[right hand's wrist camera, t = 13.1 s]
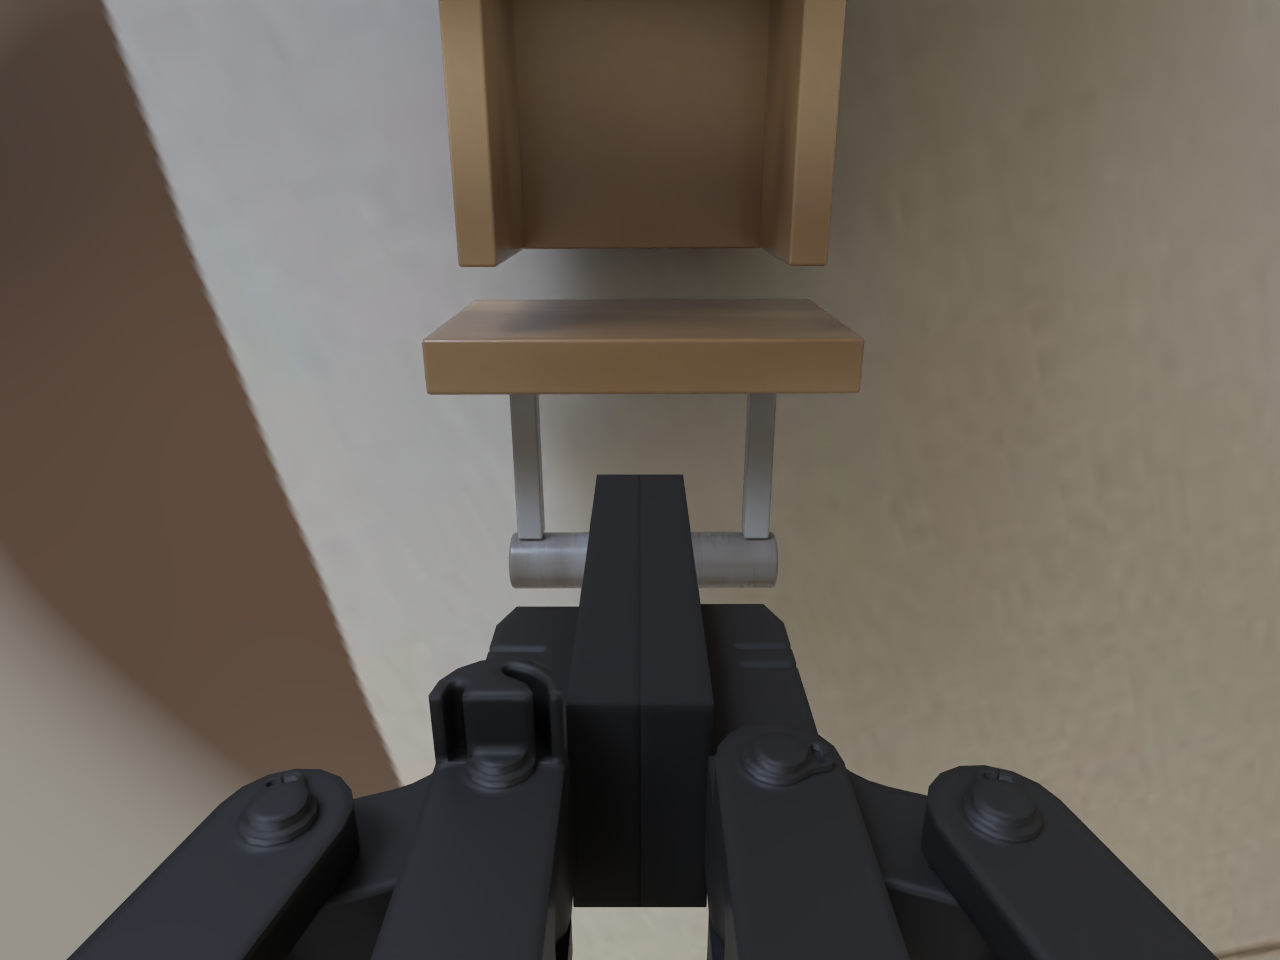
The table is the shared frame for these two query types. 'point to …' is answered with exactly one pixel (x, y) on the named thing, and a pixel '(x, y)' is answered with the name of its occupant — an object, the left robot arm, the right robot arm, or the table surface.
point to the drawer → (642, 223)
